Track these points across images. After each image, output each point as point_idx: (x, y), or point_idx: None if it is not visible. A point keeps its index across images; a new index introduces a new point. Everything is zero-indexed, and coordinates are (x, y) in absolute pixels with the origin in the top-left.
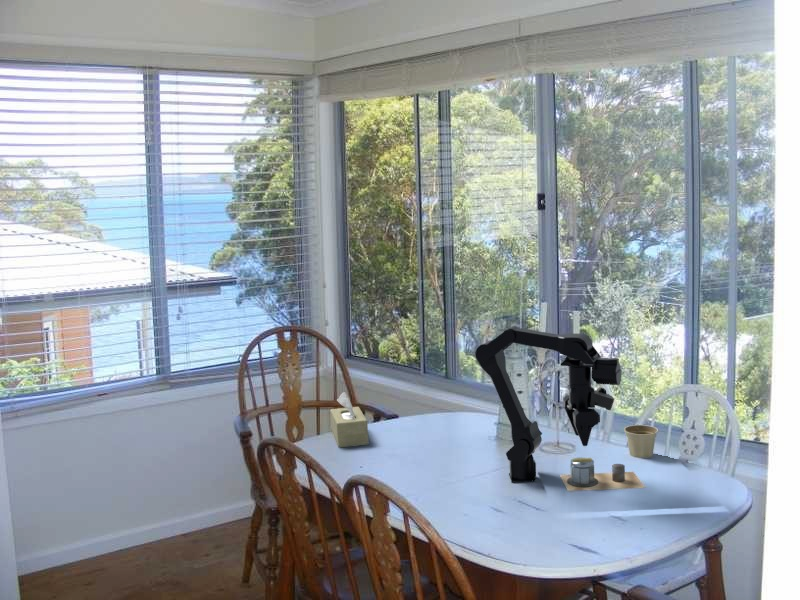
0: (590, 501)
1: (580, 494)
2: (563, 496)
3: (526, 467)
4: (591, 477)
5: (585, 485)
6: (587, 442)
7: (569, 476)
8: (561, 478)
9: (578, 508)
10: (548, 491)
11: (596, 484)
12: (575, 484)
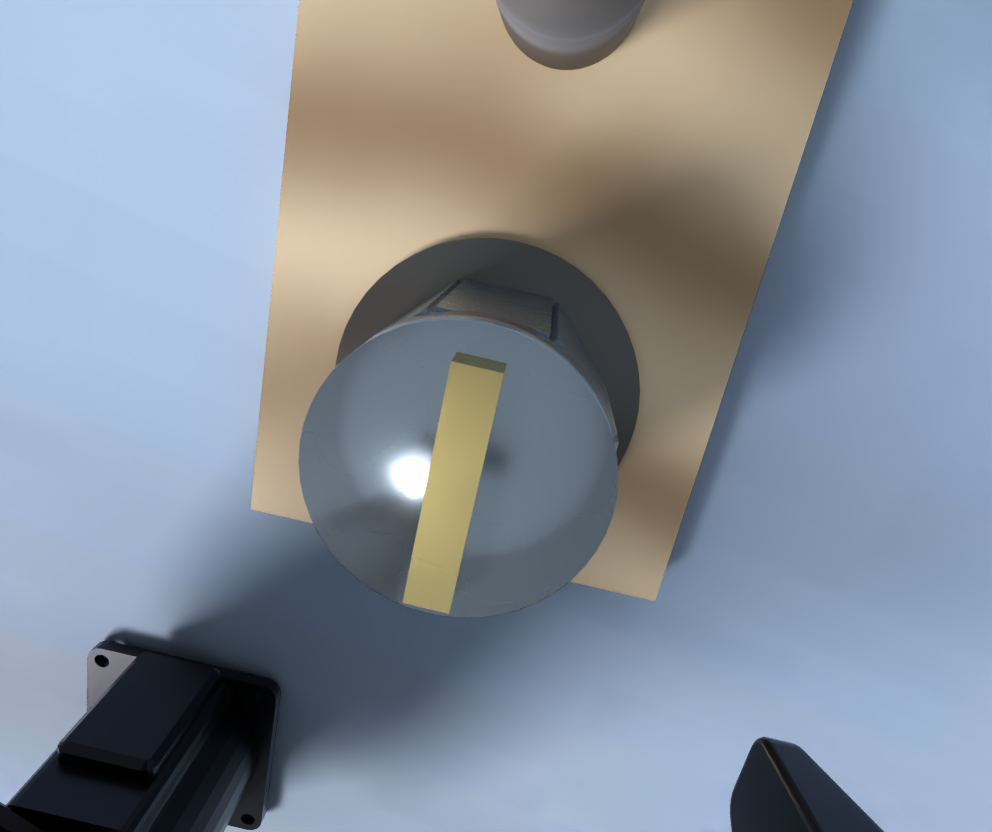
0: (857, 471)
1: None
2: (653, 616)
3: (207, 827)
4: (588, 361)
5: (615, 424)
6: (861, 824)
7: None
8: None
9: (947, 618)
10: (508, 670)
11: (610, 300)
12: None
